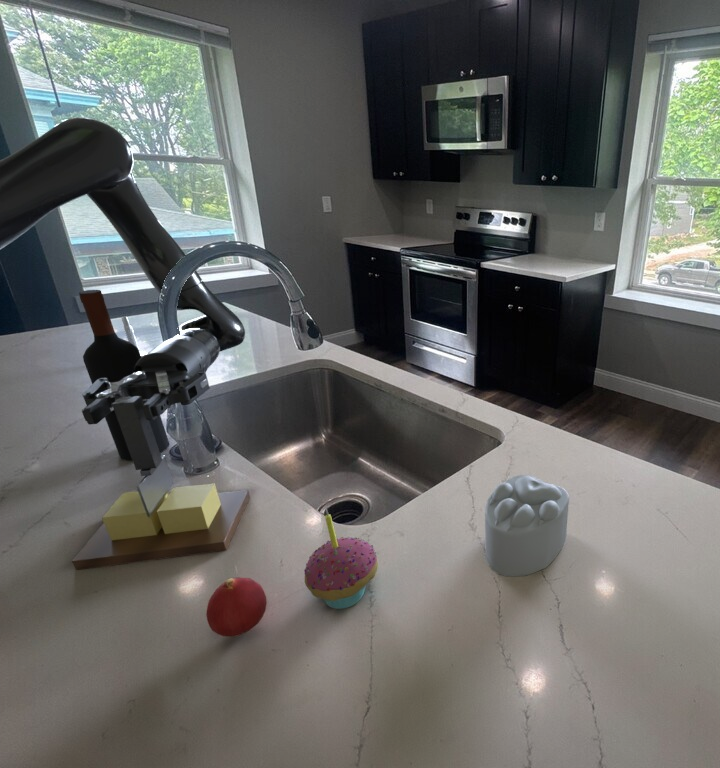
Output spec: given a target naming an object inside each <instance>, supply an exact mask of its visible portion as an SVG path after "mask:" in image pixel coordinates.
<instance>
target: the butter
mask: <svg viewBox="0 0 720 768" xmlns="http://www.w3.org/2000/svg"><path fill="white" fill-rule="evenodd" d="M218 493H219V492H218V489H217V486H216V483H205V484H195V485H186V486H176V487H173V488H172V490H171V491H170V492H167V494H166V495H165V497H164V498H163V499H162V501H161V502H160V504H159V505H158V506H157V508H156V509H155V511H154V512H153V513H152V515H151V516H150V517H148V516H147V514H146V511H145V508H144V506H143V503H142V500H141V498H140V495H139V492H138V490H136V491H127V492H122V494H121V495H120V496H119V497H118V498H117V500H115V502H114V503H113V504H112V505H111V507H109V508H108V510H107V511H106V512H105V513H104V515H103V516H102V517H101V518H102V522H103V523H104V524H105V526H106V528H107V531H108V533H109V535H110V538H111V540H120V539H128V538H136V537H145V536H153V535H157V534H158V532H159V531H160V529H161V528H162V527H163V530H164V533H165V534H169V533H178V532H186V531H194V530H202V529H208V528H209V526H210V524H211V522H212V521H213V519H214V517H215V515H216V513H217V511H218V509H219V507H220V505H221V503H220V500H219V496H218Z"/></svg>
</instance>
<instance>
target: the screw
mask: <svg viewBox="0 0 720 768" xmlns="http://www.w3.org/2000/svg"><path fill="white" fill-rule="evenodd" d="M121 321H122V325H123V330H124V332H125V334H124V335H125V336H126V339H127V341H129V342H131V343H132V344H133V345H135V346H136V347H137V348H138V350H139V351H140V347H139V345H138V341H137V339H136V338H137V337H136V335H135V332H134V328H133V326H132V325H131V323H130V321H129V318H128V316H125V315H124V316H122V317H121ZM147 353H148V352H146V351H140V354H141V357H143V356H144V355H146V354H147Z"/></svg>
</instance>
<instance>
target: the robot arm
mask: <svg viewBox="0 0 720 768" xmlns="http://www.w3.org/2000/svg"><path fill="white" fill-rule="evenodd" d="M133 167H134V156H133V151H132V149H131V146H130V144H129V142H128V140H127V139H126V138H125V137H124V135H123V134H122V133H121V132H120V131H118V130H117V128H114V127H113V126H111V125H109V124H108V123H106V122H104V121H100V120H99V119H95V118H90V117H80V116H79V117H78V116H75V117H69V118H67V119H64V120H62V121H60V122H58V123H57V124H56V125H54V126H53V127H52V128H50V129H49V130H47V131H46V132H44V133H43V134H42V135H40V136H38V138H36V139H34V140H33V141H31V142H29V143H28V144H26V145H25V146H24V147H22V148H20V149H18V150H16V152H14V153H12V154H10V155H8V156H7V157H4V158H3V159H0V250H2V249H4V248H5V247H6V246H8V245H10V244H12V243H13V242H14V241H15V240H17V239H19V237H21V236H22V235H23V234H25V233H26V232H28V231H29V230H30V229H31V228H33V227H34V226H35V225H36V224H37V223H39V222H40V221H41V220H42V219H43V218H45V217H46V216H47V215H49V214H50V213H52V212H53V211H55V210H56V209H58V208H60V207H62V206H64V205H66V204H68V203H70V202H72V201H74V200H77V199H79V198H82V197H85V196H87V197H88V198H89V199H90V200H91V201H92V202H93V203H94V204H95V205H96V207H97V208H98V209H99V210H100V212H102V214H103V215H104V216H105V217H106V219H107V220H108V221H109V223H110V224H111V225H112V227H113V228H114V229H115V231H116V232H117V234H118V235H119V236H120V238H121V240H122V241H123V242H124V244H125V245H126V247H127V249H128V250H129V251H130V254H131V255H132V256H133V257H134V259H135V261H136V262H137V264H138V265H139V267H140V268H141V271H142V272H143V273H144V275H145V276H146V277H147V279H148V281H149V282H150V283H151V285H152V286H153V287H154V289H155V290H156V292H157V294H158V295H159V296H160V293H161V289H162V286H163V283H164V280H165V278H166V276H167V275H168V273H169V272H170V270H171V269H172V268H173V267H174V266H175V265H176V263H177V262H178V261H179V260H180V259H182V258H183V257H184V256H187V254H186V253H185V252H184V251H183V249H182V248H181V246H180V245H179V244H178V243H177V242H176V240H175V239H174V238H173V237H172V235H171V234H170V233H169V231H167V229H166V228H165V227H164V226H163V224H162V223H161V222H160V220H159V219H158V218H157V216H156V215H155V213H154V212H153V210H152V209H151V207H150V206H149V204H148V203H147V201H146V199H145V197H144V196H143V194H142V192H141V189H140V188H139V186H138V185H137V182H136V180H135V178H134V176H133V173H132V170H133ZM186 310H188V311H189V310H193V311H198V312H200V313H201V314H202V315H203V316H200V317H197V318H194V319H190V320H188V321H186V322H184V323H182V324H180V325H179V326H178V327H179V331H180V335H179V334H177V335H175V334H174V335H173V336H172V337H170V338H169V339H167V340H164V341H162V342H161V343H160V344H158V345H157V346H155V347H154V348H153V349H151V350H149V351H148V352H146V353H147V354H146V355H144V356H143V357H142V358H140V359H139V360H138V362H137V363H136V365H135V367H134V370H133V373H132V374H131V375H129V376H127V377H124V378H122V379H121V381H118V382H111V383H109V381H108V379H107V378H100V379H97V380H96V381H95V382H94V383H93V384H92V383H91V385H90V386H89V387H88V388H87V389H86V390H85V391H84V392H83V393H82V397H83V400H84V402H85V405H86V406H85V407H84V408H82V409H81V413H82V416H83V419H84V421H85V422H86V423H87V425H89V426H91V425H97V424H99V423H100V422H101V421H103V419H105V417H106V416H107V415H108V414H109V413H111V411H113V410H114V408H113V406H112V404H113V403H114V402H113V403H111V402H110V399H109V398H113V397H114V398H115V401H116V400H118V399H119V398H120V397H127V396H128V397H134V396H141V398H142V401H143V400H145V401H146V400H148V401H147V402H146V403H145V404H144V405H143V411H144V414H145V417H146V419H147V420H155V419H156V418H157V417H158V416H162V415H163V414H164V413H165V412H166V411H167V410H168V409H171V408H172V409H173V408H174V407H175V406H176V404H180V406H188V405H191V404H192V403H193V402H194V401H196V400H197V399H199V398H200V397H201V396H202V395H204V394H205V393H207V392H208V390H210V383H209V379H208V376H207V371H208V369H209V368H210V367H211V366H212V365H213V364H214V363H215V362H216V360H217V359H218V357H219V355H220V353H221V352H223V351H226V350H230V349H232V348H234V347H238V346H240V345H241V344H243V342H244V341H245V338H246V329H245V327H244V324H243V321H242V320H241V319H240V318H239V317H238V316H237V314H236V313H234V312H233V311H232V310H231V309H230V308H229V307H228V306H227V305H225V303H223V302H222V301H221V300H220V299H219V298H218V297H217V296H216V295H215V293H213V292H212V291H211V290H210V289H209V287H208V286H207V285H206V283H205V282H204V281H203V279H202V278H201V276H200V274H199V273H198V271H197V270H196V271H195V272H194V273H193V274H192V275H191V276H190V277H189V278H188V279H187V281H186V282H185V284H184V286H183V287H182V290H181V293H180V296H179V300H178V306H177V310H176V311H186Z"/></svg>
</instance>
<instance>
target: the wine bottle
mask: <svg viewBox="0 0 720 768" xmlns="http://www.w3.org/2000/svg"><path fill="white" fill-rule="evenodd" d="M78 295H79V299H80V303H81V304H82V306H83V308H84V311H85V314H86V318H87V320H88V322H89V323H88V324H89V325H90V328H91V331H92V333H93V342H92V343H91V344H89V346H87V348H86V349H85V350H84V353H83V355H82V360H83V363H84V366H85V368H86V371H87V374H88V376H89V379H90V382H91V385H92V384H93V383H94V382H95V381H96V380H97V379H100V378H107V379H108V381H109V383H111V382H118V381H121V379H122V378H124V377H127V376H129V375H131V374H132V373H133V370H134V367H135V365H136V363H137V362H138V360H139V359H140V358H142V357H141V354H140V352H141V351H140V349H139V350H138V348H139V347H138V348H137V347H136V346H135V345H133V344H132V343H131V342H129V341H128V340H127V339H123V338H121V337H120V336H118V335H117V333H116V330H115V329H114V325H113V322H112V319H111V317H110V314H109V311H108V308H107V305H106V301H105V297H104V294H103V292H102V290H101V289H87V290H81V291H78ZM127 397H128V396H127ZM109 399H110V402H111V403H113V402H115V398H114V397H113V398H109ZM147 401H148V400H146V401H145V400H143V404H145V403H146V402H147ZM104 420H105V421H106V424H107V427H108V429H109V432H110V435H111V437H112V440H113V443H114V445H115V448H116V450H117V453H118V456H119V457H120V459H121V460H124V461H128V462H129V461H130V462H133V460H132V458H131V455H130V452H129V449H128V447H127V444H126V441H125V438H124V436H123V433H122V430H121V427H120V425H119V422H118V419H117V416H116V414H115V411H114V410H113V411H111V413H109V414H108V415H107V416H106V417H105V418H104ZM149 422H150V425H151V428H152V431H153V434H154V437H155V440H156V443H157V446H158V449H159V452H160V454H161V453H163V452H164V451H166V450H167V449H168V447H169V446H170V441H169V438H168V435H167V433H166V429H165V426H164V423H163V420H162V415H160V416H158V417H157V418H156V419H155V420H149Z"/></svg>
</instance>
